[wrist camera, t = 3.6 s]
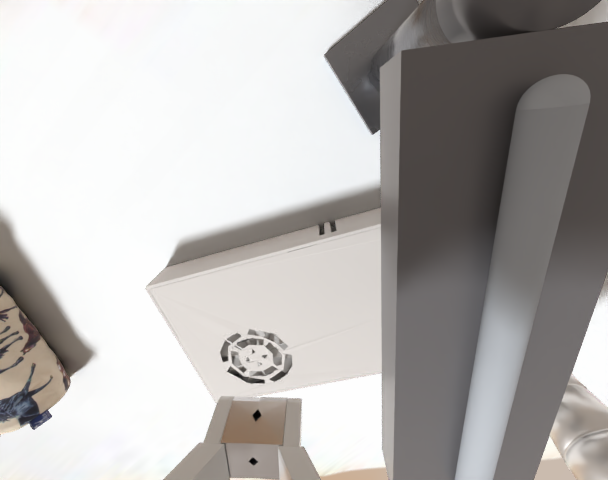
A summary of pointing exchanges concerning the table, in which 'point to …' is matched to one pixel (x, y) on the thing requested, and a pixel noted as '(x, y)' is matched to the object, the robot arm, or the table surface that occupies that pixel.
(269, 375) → the power supply unit
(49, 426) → the table surface
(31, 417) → the pencil case
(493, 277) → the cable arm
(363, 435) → the table surface
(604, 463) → the plastic bottle
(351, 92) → the post
